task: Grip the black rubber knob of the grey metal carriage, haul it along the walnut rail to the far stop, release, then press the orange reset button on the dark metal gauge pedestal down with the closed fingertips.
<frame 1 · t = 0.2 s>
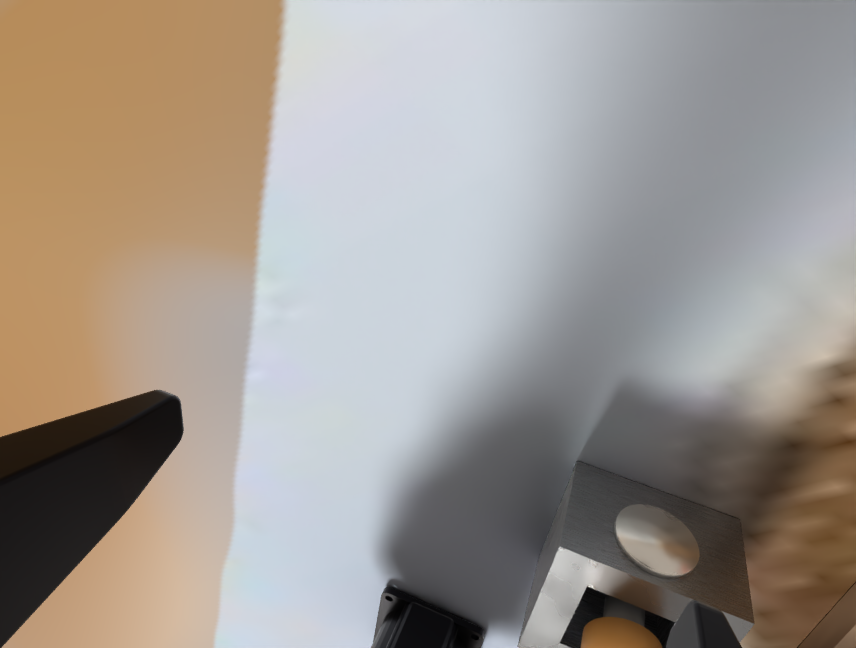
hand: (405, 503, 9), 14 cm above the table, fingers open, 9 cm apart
gauge pedestal: (629, 540, 27), on the table
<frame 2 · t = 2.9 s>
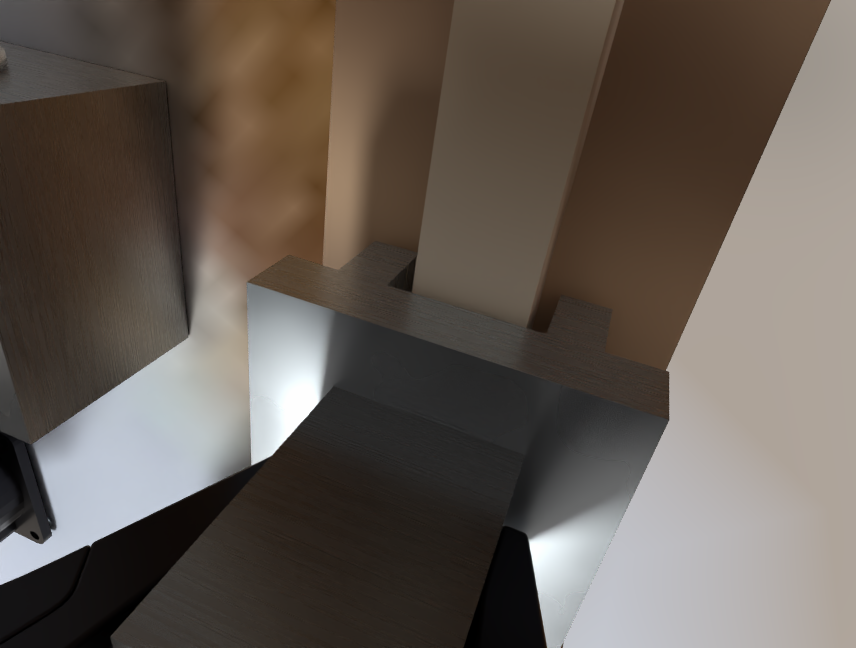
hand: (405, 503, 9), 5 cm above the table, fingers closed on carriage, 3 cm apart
rail: (546, 87, 10), on the table
carriage: (391, 530, 9), point 5 cm above the table, slide at 0.0 cm, touching gripper
gauge pedestal: (71, 191, 16), on the table
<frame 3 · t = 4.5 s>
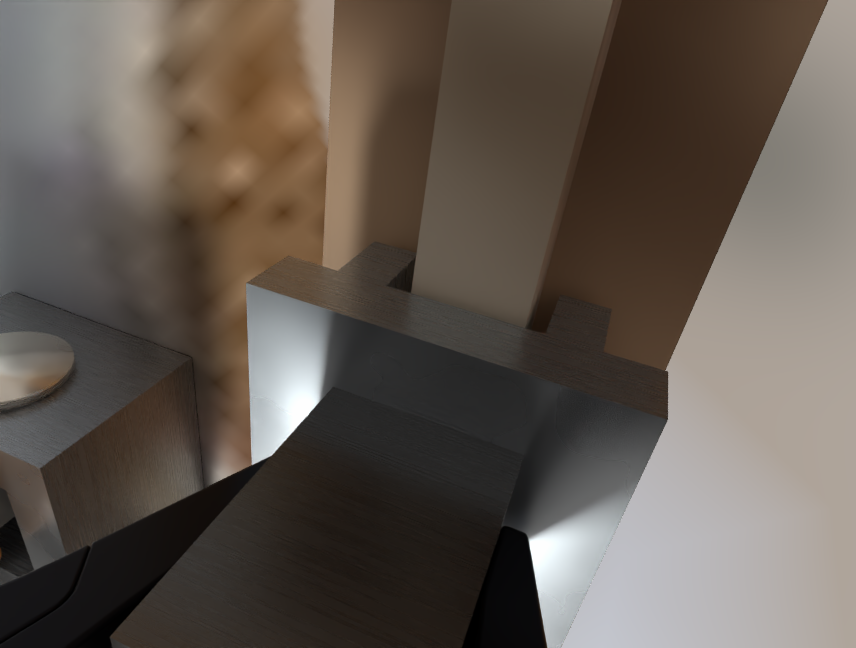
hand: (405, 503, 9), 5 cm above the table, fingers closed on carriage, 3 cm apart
rail: (470, 413, 14), on the table
carriage: (390, 530, 9), point 5 cm above the table, slide at 7.7 cm, touching gripper
gauge pedestal: (114, 409, 20), on the table
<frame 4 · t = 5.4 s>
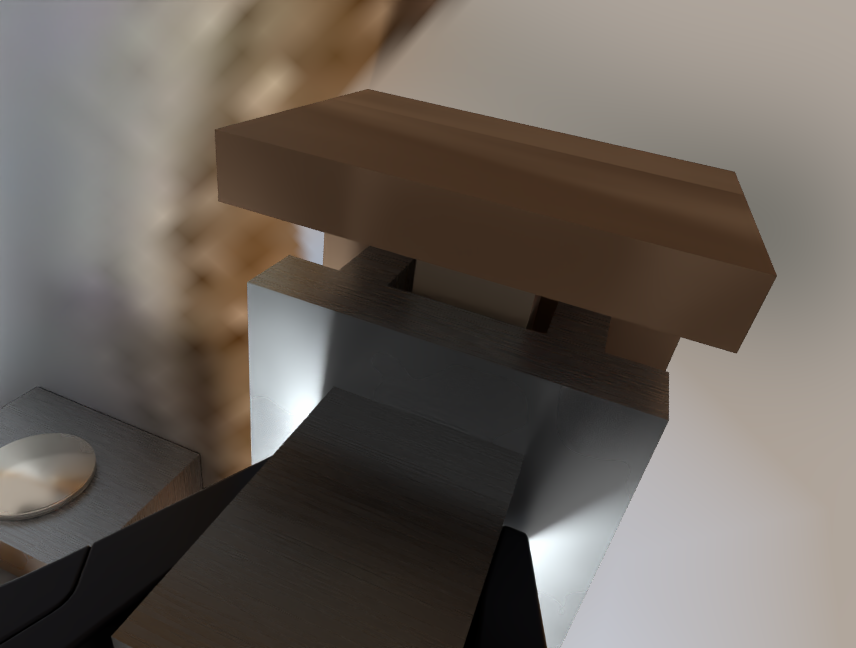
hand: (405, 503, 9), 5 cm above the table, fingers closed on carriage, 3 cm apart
rail: (444, 519, 16), on the table
carriage: (391, 530, 9), point 5 cm above the table, slide at 11.7 cm, touching gripper
gauge pedestal: (128, 488, 22), on the table
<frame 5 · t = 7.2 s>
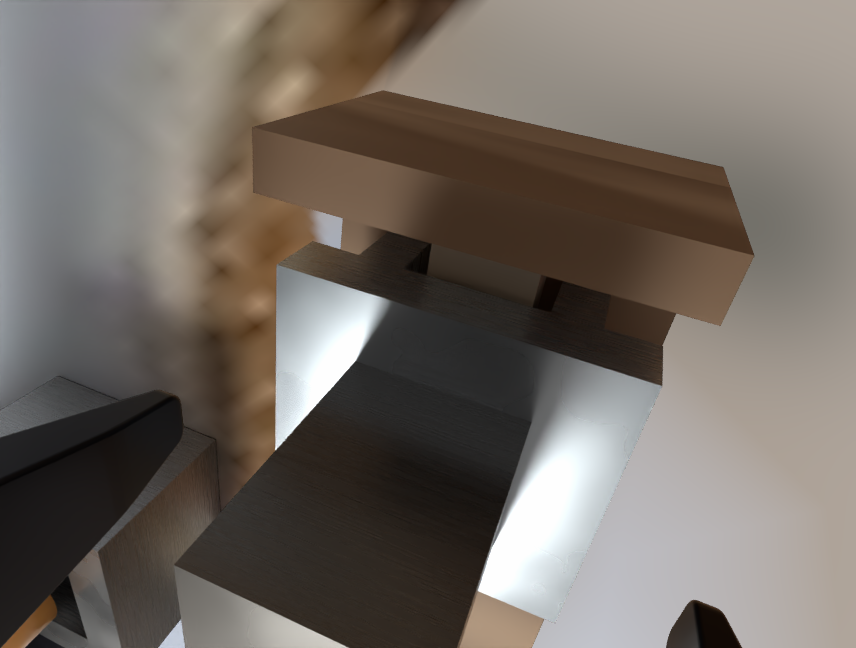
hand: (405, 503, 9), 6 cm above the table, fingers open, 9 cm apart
rail: (451, 499, 17), on the table
carriage: (408, 492, 10), point 5 cm above the table, slide at 11.8 cm
gauge pedestal: (144, 474, 23), on the table
reset button: (8, 595, 18), point 6 cm above the table, slide at 0.0 cm
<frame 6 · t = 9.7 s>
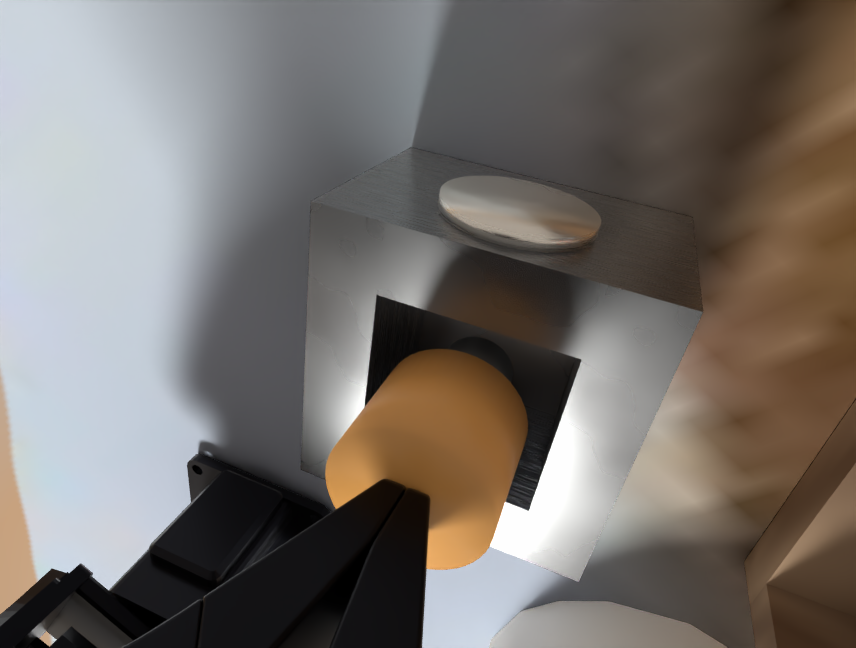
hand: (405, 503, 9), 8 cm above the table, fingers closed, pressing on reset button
gauge pedestal: (512, 304, 16), on the table
reset button: (447, 424, 11), point 6 cm above the table, slide at 0.1 cm, touching gripper
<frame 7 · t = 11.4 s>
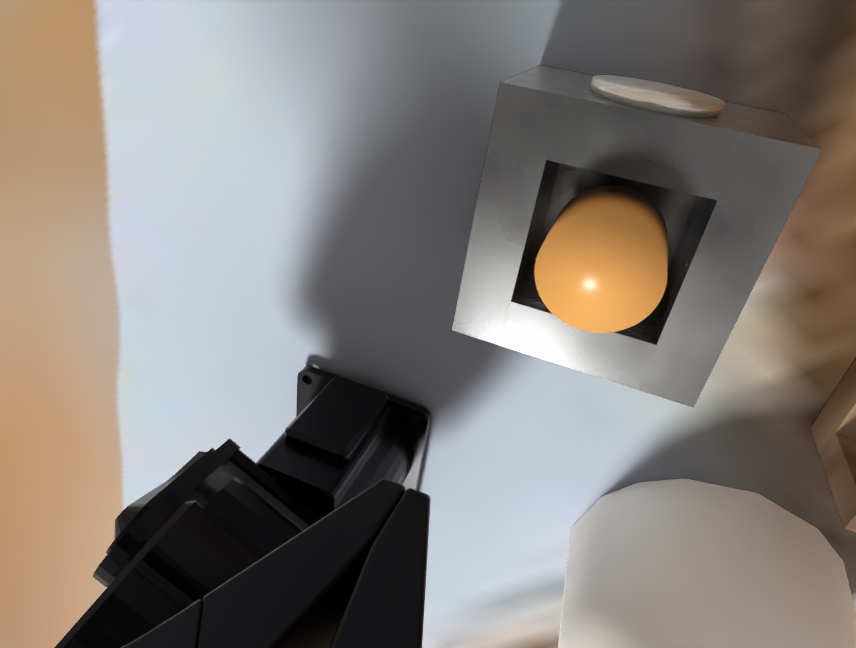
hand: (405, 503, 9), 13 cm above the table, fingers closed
teardrop: (695, 574, 25), on the table
gauge pedestal: (618, 201, 19), on the table
reset button: (606, 245, 15), point 4 cm above the table, slide at 1.5 cm
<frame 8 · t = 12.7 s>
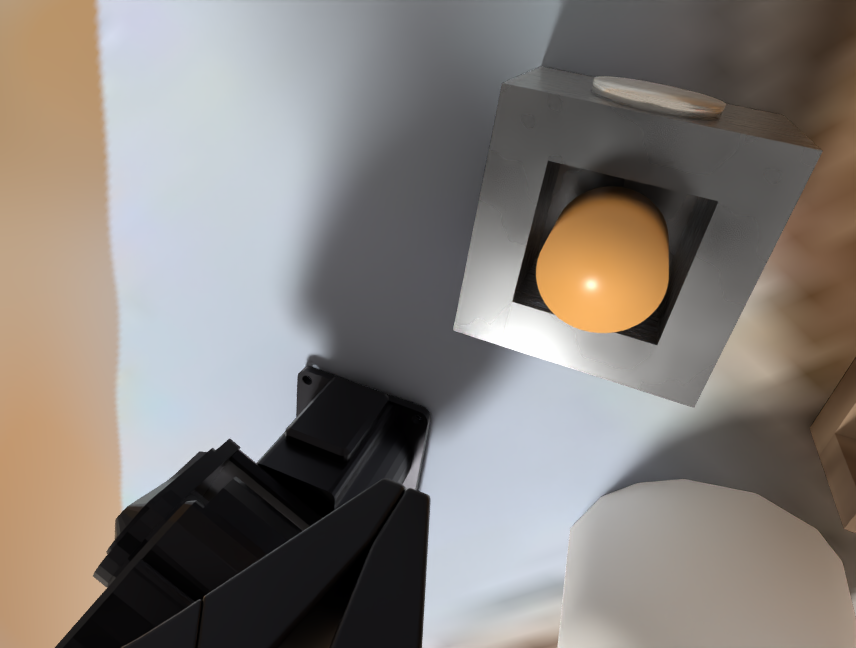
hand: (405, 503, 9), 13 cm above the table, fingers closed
teardrop: (694, 574, 25), on the table
gauge pedestal: (618, 202, 19), on the table
reset button: (607, 245, 15), point 4 cm above the table, slide at 1.5 cm
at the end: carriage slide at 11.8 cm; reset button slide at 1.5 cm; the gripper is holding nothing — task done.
